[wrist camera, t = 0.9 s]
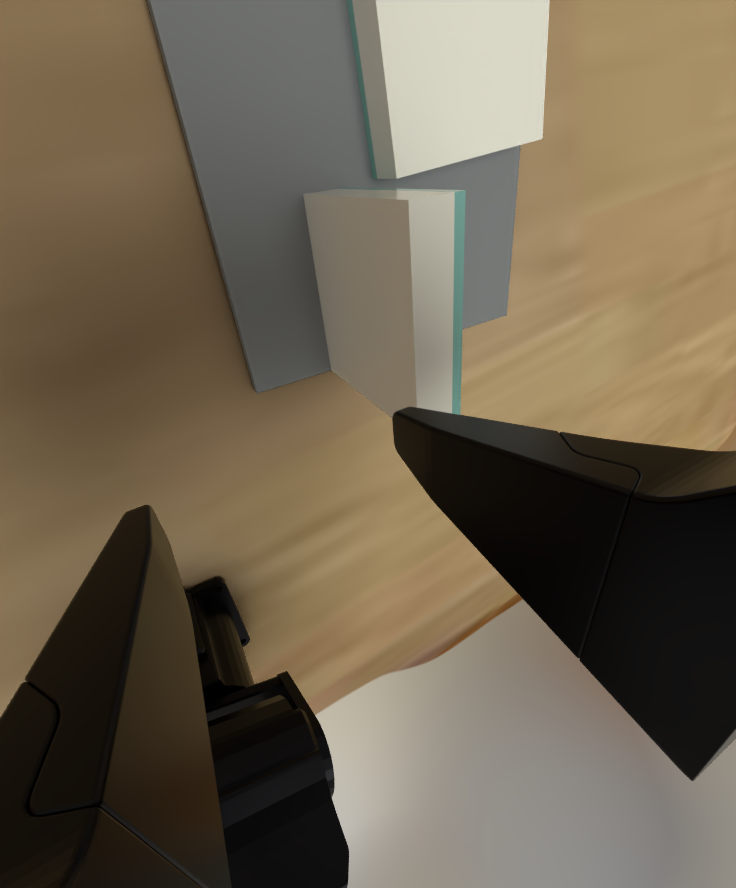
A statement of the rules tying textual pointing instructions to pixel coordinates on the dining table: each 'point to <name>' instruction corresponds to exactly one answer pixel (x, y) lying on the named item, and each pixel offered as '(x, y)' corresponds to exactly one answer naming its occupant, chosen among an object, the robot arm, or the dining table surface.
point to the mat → (300, 166)
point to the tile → (392, 291)
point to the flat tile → (448, 79)
